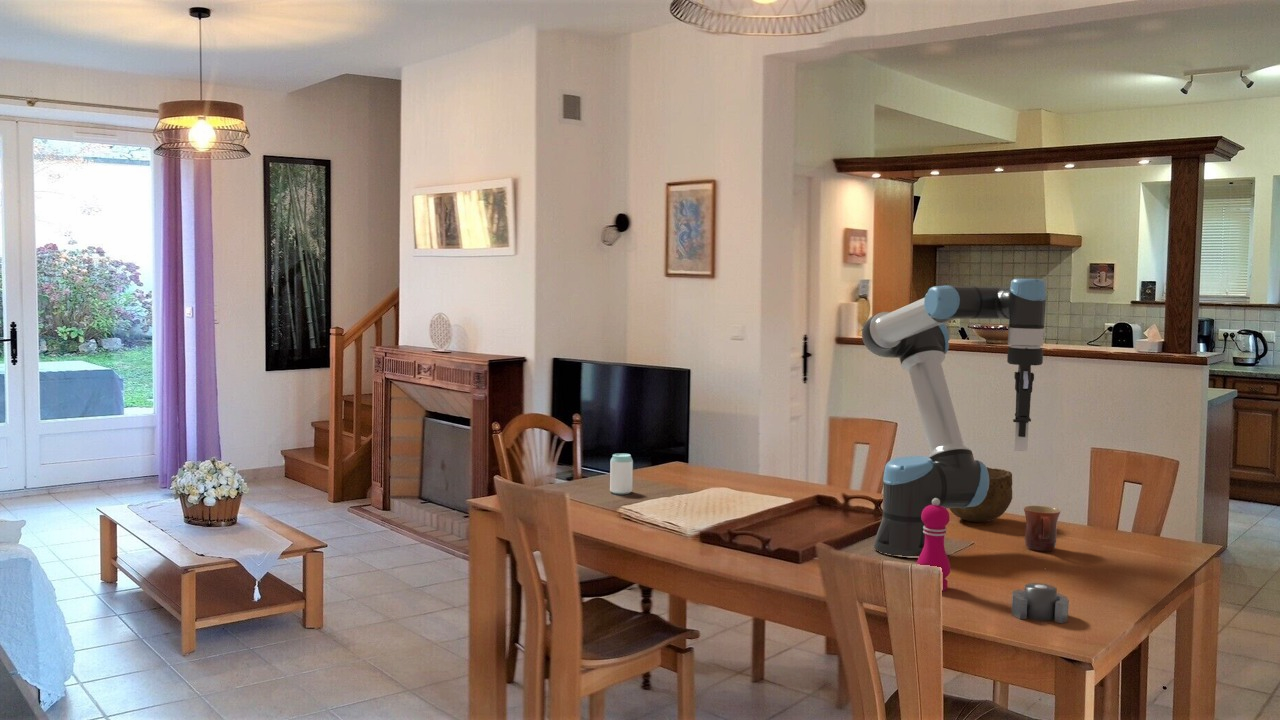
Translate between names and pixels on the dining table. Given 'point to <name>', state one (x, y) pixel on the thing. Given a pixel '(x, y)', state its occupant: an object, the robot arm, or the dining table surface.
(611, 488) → the can
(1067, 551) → the dining table surface
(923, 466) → the robot arm
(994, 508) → the bowl
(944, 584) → the pepper mill
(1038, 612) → the cap
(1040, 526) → the mug
